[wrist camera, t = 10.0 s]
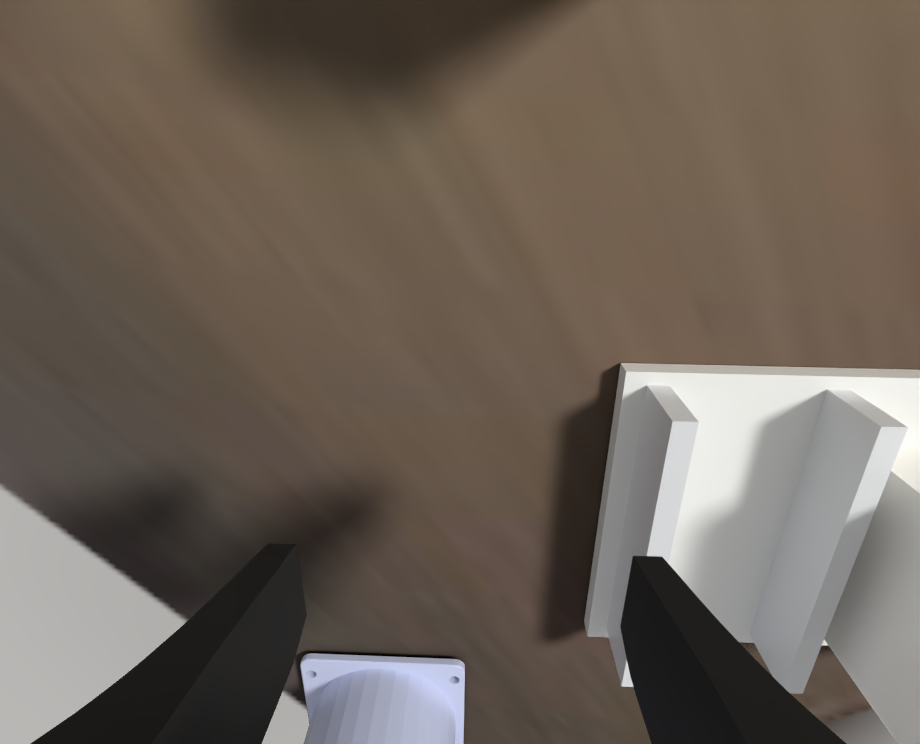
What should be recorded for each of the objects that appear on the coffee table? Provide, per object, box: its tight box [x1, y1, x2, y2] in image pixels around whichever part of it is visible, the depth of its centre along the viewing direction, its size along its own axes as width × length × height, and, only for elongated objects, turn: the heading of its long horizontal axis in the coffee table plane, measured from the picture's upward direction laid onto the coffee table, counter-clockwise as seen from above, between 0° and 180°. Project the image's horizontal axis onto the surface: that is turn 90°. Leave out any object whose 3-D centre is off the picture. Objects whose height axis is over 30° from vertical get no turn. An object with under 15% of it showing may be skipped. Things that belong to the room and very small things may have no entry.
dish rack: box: [584, 363, 920, 694], centre depth 20 cm, size 13×15×4 cm
